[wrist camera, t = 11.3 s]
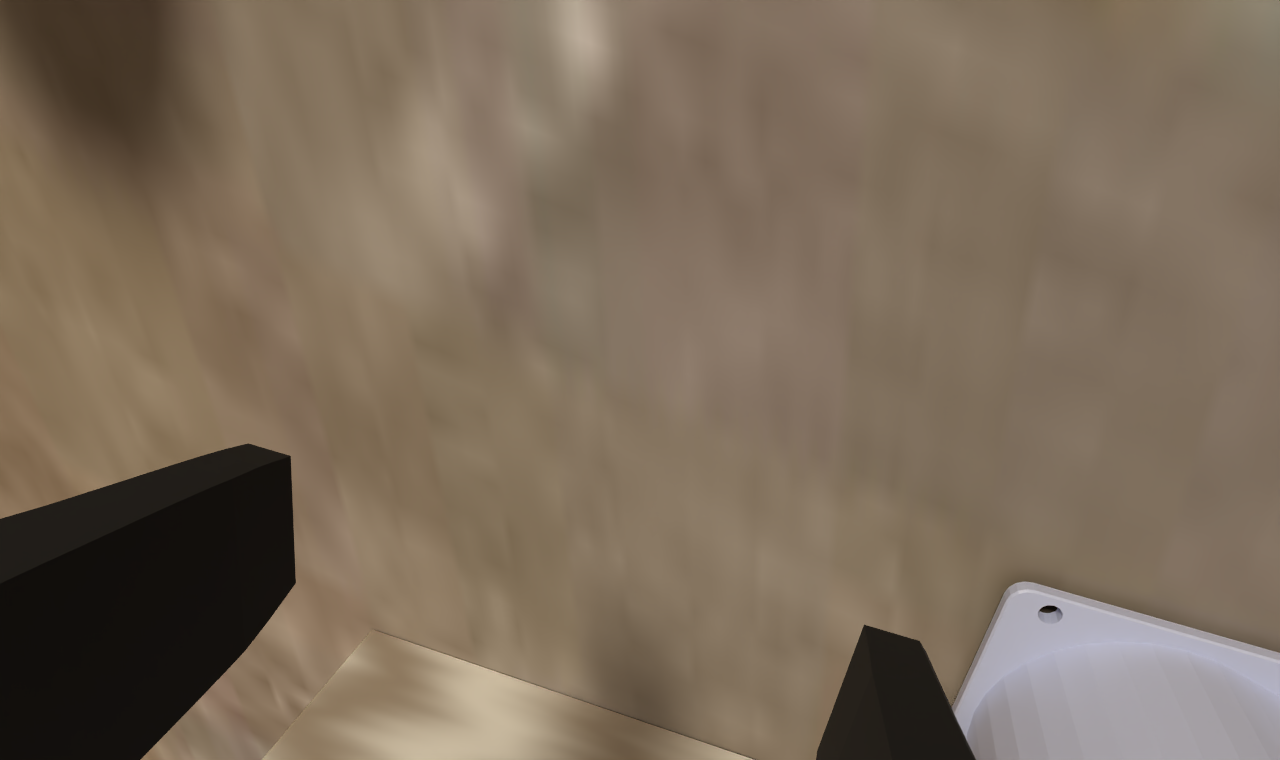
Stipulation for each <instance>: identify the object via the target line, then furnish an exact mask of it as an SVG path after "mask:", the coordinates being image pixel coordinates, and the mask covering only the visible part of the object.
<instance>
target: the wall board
mask: <svg viewBox="0 0 1280 760" xmlns="http://www.w3.org/2000/svg"><path fill="white" fill-rule="evenodd" d="M262 760H753V759H751V758H748V757H745V756H742V755H739V754H736V753H733V752H730V751H727V750H724V749H721V748H718V747H715V746H712V745H709V744H707V743H704V742H701V741H698V740H695V739H692V738H689V737H686V736H683V735H680V734H677V733H674V732H671V731H668V730H666V729H663V728H660V727H657V726H654V725H651V724H648V723H645V722H642V721H639V720H636V719H633V718H630V717H627V716H624V715H622V714H619V713H616V712H613V711H610V710H607V709H604V708H601V707H598V706H595V705H592V704H589V703H586V702H583V701H580V700H578V699H575V698H572V697H569V696H566V695H563V694H560V693H557V692H554V691H551V690H548V689H545V688H542V687H539V686H537V685H534V684H531V683H528V682H525V681H522V680H519V679H516V678H513V677H510V676H507V675H504V674H501V673H498V672H495V671H493V670H490V669H487V668H484V667H481V666H478V665H475V664H472V663H469V662H466V661H463V660H460V659H457V658H454V657H452V656H449V655H446V654H443V653H440V652H437V651H434V650H431V649H428V648H425V647H422V646H419V645H416V644H413V643H410V642H408V641H405V640H402V639H399V638H396V637H393V636H390V635H387V634H384V633H381V632H378V631H375V630H371V631H370V633H369V634H368V635H367V636H366V637H365V638H364V640H363V641H362V642H361V643H360V644H359V646H358V647H357V648H356V649H355V650H354V651H353V653H352V654H351V655H350V656H349V657H348V659H347V660H346V661H345V662H344V663H343V664H342V666H341V667H340V668H339V669H338V670H337V672H336V673H335V674H334V675H333V676H332V677H331V679H330V680H329V681H328V682H327V683H326V685H325V686H324V687H323V688H322V689H321V690H320V692H319V693H318V694H317V695H316V696H315V698H314V699H313V700H312V701H311V702H310V703H309V705H308V706H307V707H306V708H305V709H304V711H303V712H302V713H301V714H300V715H299V716H298V718H297V719H296V720H295V721H294V722H293V724H292V725H291V726H290V727H289V728H288V729H287V731H286V732H285V733H284V734H283V735H282V737H281V738H280V739H279V740H278V741H277V742H276V744H275V745H274V746H273V747H272V748H271V750H270V751H269V752H268V753H267V754H266V755H265V757H264V758H263V759H262Z"/></svg>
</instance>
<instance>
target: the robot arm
mask: <svg viewBox="0 0 1280 760" xmlns="http://www.w3.org/2000/svg"><path fill="white" fill-rule="evenodd" d="M295 583H296V579H295V554H294V530H293V505H292V480H291V456H289V455H285V454H282V453H278V452H275V451H272V450H268V449H265V448H261V447H258V446H255V445H251V444H244V445H240V446H236V447H232V448H228V449H224V450H221V451H217V452H214V453H210V454H207V455H204V456H200V457H197V458H194V459H190V460H187V461H184V462H181V463H178V464H174V465H171V466H168V467H165V468H162V469H159V470H156V471H153V472H149V473H146V474H143V475H140V476H137V477H134V478H131V479H128V480H125V481H122V482H118V483H115V484H112V485H109V486H106V487H103V488H100V489H97V490H93V491H90V492H87V493H84V494H81V495H78V496H75V497H72V498H68V499H65V500H62V501H59V502H56V503H53V504H50V505H46V506H43V507H40V508H36V509H33V510H29V511H26V512H23V513H19V514H16V515H12V516H9V517H5V518H2V519H0V760H140V759H141V758H142V757H143V756H144V755H145V754H146V753H147V752H148V751H149V750H150V749H151V748H152V747H153V746H154V745H155V744H156V743H157V742H158V741H159V740H160V739H161V738H162V737H163V736H164V735H165V734H166V733H167V732H168V731H169V730H170V729H171V728H172V727H173V726H174V725H175V724H176V722H177V721H178V720H179V719H180V718H181V717H182V716H183V715H184V714H185V713H186V712H187V711H188V710H189V709H190V708H191V707H192V706H193V705H194V704H195V703H196V702H197V701H198V700H199V699H200V698H201V697H202V696H203V695H204V694H205V693H206V691H207V690H208V689H209V688H210V687H211V686H212V685H213V684H214V683H215V682H216V681H217V680H218V679H219V678H220V677H221V676H222V675H223V674H224V673H225V672H226V671H227V669H228V668H229V667H230V666H231V665H232V664H233V663H234V662H235V661H236V660H237V659H238V658H239V657H240V656H241V655H242V653H243V652H244V651H245V650H246V649H247V648H248V646H249V645H250V644H251V642H252V641H253V640H254V639H255V637H256V636H257V635H258V633H259V632H260V631H261V630H262V628H263V627H264V626H265V624H266V623H267V622H268V621H269V619H270V618H271V617H272V615H273V614H274V612H275V611H276V610H277V608H278V607H279V605H280V604H281V603H282V601H283V600H284V598H285V597H286V596H287V594H288V593H289V592H290V590H291V589H292V587H293V586H294V585H295ZM1047 605H1051V606H1056V607H1058V609H1057V610H1056V611H1054V612H1051V613H1043V612H1041V611H1039V610H1040V609H1041V608H1042V607H1044V606H1047ZM816 760H1280V653H1278V652H1274V651H1271V650H1267V649H1264V648H1260V647H1257V646H1253V645H1250V644H1246V643H1243V642H1239V641H1236V640H1232V639H1229V638H1225V637H1222V636H1218V635H1215V634H1211V633H1208V632H1204V631H1201V630H1197V629H1194V628H1190V627H1187V626H1183V625H1180V624H1176V623H1173V622H1169V621H1166V620H1162V619H1159V618H1155V617H1152V616H1148V615H1145V614H1141V613H1138V612H1134V611H1131V610H1127V609H1124V608H1120V607H1117V606H1113V605H1110V604H1106V603H1103V602H1099V601H1096V600H1092V599H1089V598H1085V597H1082V596H1078V595H1075V594H1071V593H1068V592H1064V591H1061V590H1057V589H1054V588H1050V587H1047V586H1043V585H1040V584H1036V583H1032V582H1019V583H1015V584H1013V585H1012V586H1010V587H1008V589H1007V590H1006V591H1005V592H1004V594H1003V597H1002V599H1001V601H1000V603H999V605H998V608H997V610H996V612H995V614H994V616H993V618H992V621H991V623H990V625H989V627H988V629H987V632H986V634H985V636H984V638H983V640H982V643H981V645H980V647H979V649H978V651H977V654H976V656H975V658H974V660H973V662H972V665H971V667H970V669H969V671H968V673H967V675H966V678H965V680H964V682H963V684H962V686H961V689H960V691H959V693H958V695H957V697H956V700H955V702H954V704H953V706H952V708H951V706H950V704H949V702H948V700H947V697H946V695H945V693H944V691H943V689H942V686H941V684H940V682H939V680H938V678H937V675H936V673H935V671H934V669H933V666H932V664H931V662H930V660H929V658H928V655H927V653H926V651H925V650H924V648H923V646H922V644H921V643H920V641H917V640H914V639H911V638H907V637H904V636H900V635H897V634H894V633H890V632H887V631H883V630H880V629H877V628H873V627H870V626H866V625H864V627H863V629H862V632H861V635H860V637H859V640H858V643H857V646H856V648H855V651H854V654H853V656H852V659H851V662H850V664H849V667H848V670H847V672H846V675H845V678H844V681H843V683H842V686H841V689H840V691H839V694H838V697H837V699H836V702H835V705H834V707H833V710H832V713H831V716H830V718H829V721H828V724H827V726H826V729H825V732H824V734H823V737H822V740H821V743H820V745H819V748H818V751H817V758H816Z"/></svg>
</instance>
